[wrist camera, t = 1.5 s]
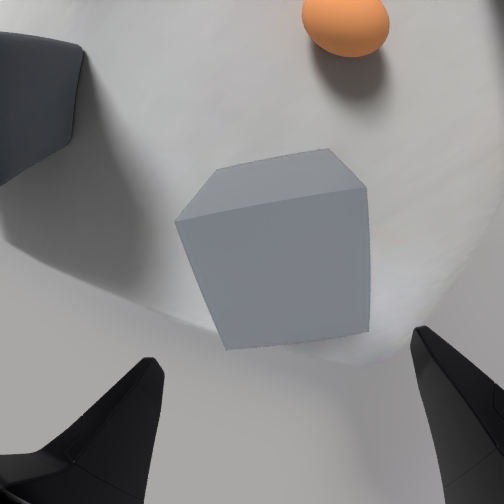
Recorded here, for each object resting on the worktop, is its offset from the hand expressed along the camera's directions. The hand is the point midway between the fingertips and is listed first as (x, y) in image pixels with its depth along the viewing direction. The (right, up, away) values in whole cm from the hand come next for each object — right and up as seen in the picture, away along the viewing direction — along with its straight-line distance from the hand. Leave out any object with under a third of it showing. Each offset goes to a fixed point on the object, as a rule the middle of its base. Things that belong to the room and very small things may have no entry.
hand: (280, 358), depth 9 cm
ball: (+4, +16, +2) cm, 17 cm away
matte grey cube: (+1, +6, +11) cm, 13 cm away
